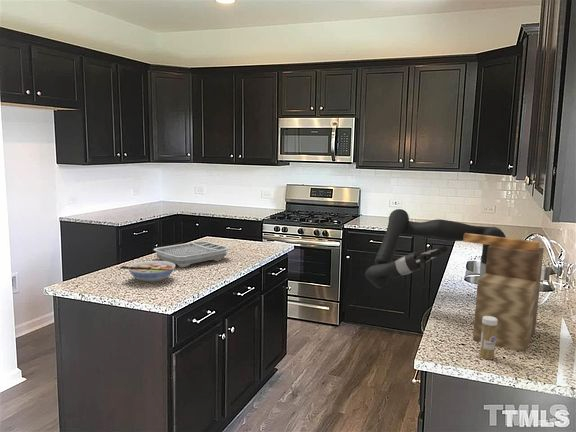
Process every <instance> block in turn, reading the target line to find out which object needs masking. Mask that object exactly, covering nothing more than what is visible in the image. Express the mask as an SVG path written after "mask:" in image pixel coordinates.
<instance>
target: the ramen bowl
mask: <svg viewBox="0 0 576 432" xmlns="http://www.w3.org/2000/svg"><path fill="white" fill-rule="evenodd" d="M176 265H177V264H175V263H171V262H166V261H163V260H147V261H140V262H134V263H132V264H129V265H128V266H126V265H125V266H124V265H122V266H119V269H120V270H121V269H122V270H128V271H129V273H130V274H131V275H132V277H133V278H134V279H137V280H139V281H142V282H144V283H148V284H149V283H150V284H151V283H158V282H161V281H163V280H164V279H167V278H168V277H170V276H171V274H172V273H173V272H174V269H175V267H176Z"/></svg>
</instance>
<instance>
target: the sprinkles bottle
mask: <svg viewBox="0 0 576 432" xmlns="http://www.w3.org/2000/svg"><path fill="white" fill-rule="evenodd" d="M497 322H498V320H497V318H495V317H492V316H483V318H482V332H481V342H480V343H479V344H480V345H479V346H480V347H479V349H480V350H479V354H478V355H479V357H480V358H482V359H485V360H493V359H495V349H496V345H495V338H496V326H497Z"/></svg>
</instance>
